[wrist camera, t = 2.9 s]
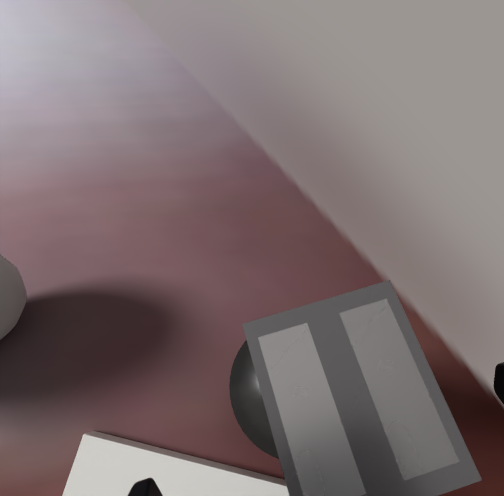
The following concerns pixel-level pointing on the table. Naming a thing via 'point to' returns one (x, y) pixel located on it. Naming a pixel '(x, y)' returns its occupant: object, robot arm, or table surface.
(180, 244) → the table surface
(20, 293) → the donut
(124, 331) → the table surface
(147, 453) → the ceramic tile
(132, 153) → the table surface
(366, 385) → the grey channel block
